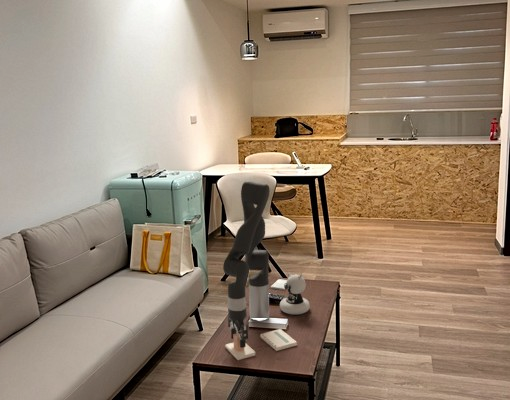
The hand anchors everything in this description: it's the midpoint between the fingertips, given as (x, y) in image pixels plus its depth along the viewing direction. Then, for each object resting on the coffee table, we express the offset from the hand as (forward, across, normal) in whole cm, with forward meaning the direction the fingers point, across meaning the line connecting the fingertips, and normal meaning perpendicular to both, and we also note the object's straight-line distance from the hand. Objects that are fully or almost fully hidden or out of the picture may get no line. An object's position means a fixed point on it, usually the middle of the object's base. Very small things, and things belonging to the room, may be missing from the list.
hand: (238, 342), depth 220 cm
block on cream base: (+4, 0, +1) cm, 4 cm away
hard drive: (+5, -55, +52) cm, 76 cm away
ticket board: (+4, 0, +19) cm, 19 cm away
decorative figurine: (+4, -24, +42) cm, 49 cm away
